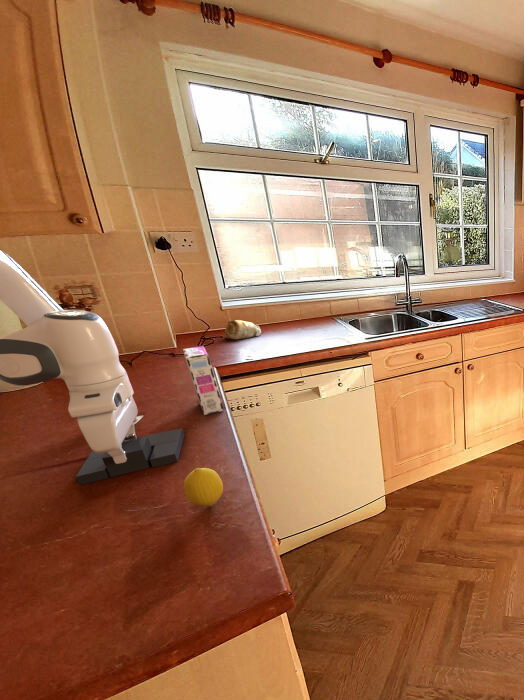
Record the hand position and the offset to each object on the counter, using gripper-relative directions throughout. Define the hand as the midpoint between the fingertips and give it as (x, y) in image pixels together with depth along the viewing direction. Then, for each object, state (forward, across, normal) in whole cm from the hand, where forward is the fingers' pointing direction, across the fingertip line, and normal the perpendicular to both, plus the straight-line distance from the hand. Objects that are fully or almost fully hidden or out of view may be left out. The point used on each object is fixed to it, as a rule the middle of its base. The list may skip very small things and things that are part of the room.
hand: (127, 451), depth 90 cm
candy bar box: (+4, -26, +13) cm, 30 cm away
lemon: (+4, +26, +15) cm, 30 cm away
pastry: (+4, -110, +21) cm, 112 cm away
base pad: (+4, -4, 0) cm, 5 cm away
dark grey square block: (+4, 0, 0) cm, 4 cm away
